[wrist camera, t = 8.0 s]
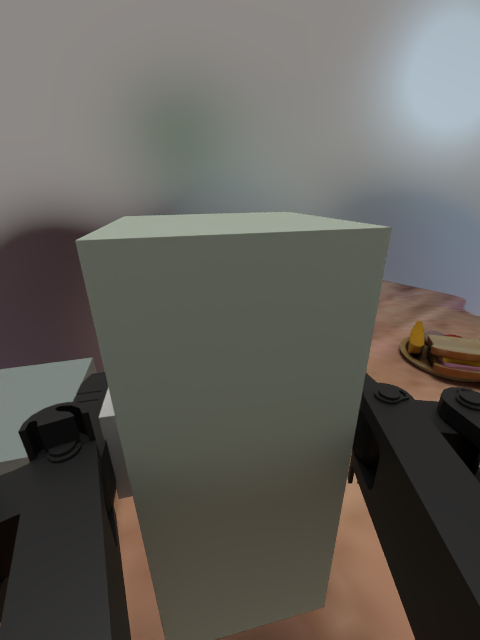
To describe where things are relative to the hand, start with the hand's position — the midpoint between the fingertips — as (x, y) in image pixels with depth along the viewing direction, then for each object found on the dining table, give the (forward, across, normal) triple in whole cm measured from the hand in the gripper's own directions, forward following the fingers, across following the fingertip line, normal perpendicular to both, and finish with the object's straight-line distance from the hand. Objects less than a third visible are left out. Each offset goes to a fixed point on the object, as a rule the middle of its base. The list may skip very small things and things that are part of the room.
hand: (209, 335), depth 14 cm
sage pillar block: (-5, 0, -7) cm, 8 cm away
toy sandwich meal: (+17, +36, -17) cm, 43 cm away
